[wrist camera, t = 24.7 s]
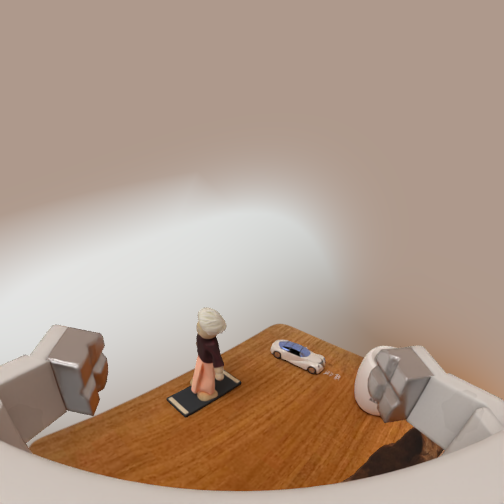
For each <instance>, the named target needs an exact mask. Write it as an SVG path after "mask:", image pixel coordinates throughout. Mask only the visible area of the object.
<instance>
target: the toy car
mask: <svg viewBox="0 0 504 504" xmlns="http://www.w3.org/2000/svg"><path fill="white" fill-rule="evenodd" d="M271 353H272V354H274V356H275V357H276V358H280V357H281V359H284V360H287V361H289V362H290V363H292V364H294V365H297V366H299V367H301V368H303V369H305V370H307V368H308V372H309V373H311V374H314V373H316V374H318V373H320V372H321V371H322V370H323V366H324V367H325V363H326V362H325V361H324V360H325V358H324V357H323V356H322V355H319V354H315V353H313V352H311V351H310V350H308V349H307V347H304V346H302V345H299V344H297V343H294V342H290V341H287V340H277V341H275V342H274V343H273V344H272V347H271ZM323 362H324V365H323ZM321 364H322V365H323V366H322V365H321ZM327 373H328V372H327ZM324 374H325V373H324ZM327 375H328V374H327ZM330 375H331V374H330ZM330 375H329V376H330ZM337 376H338V374H337ZM337 376H336V377H337ZM336 377H335V378H336Z"/></svg>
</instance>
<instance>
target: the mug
mask: <svg viewBox="0 0 504 504" xmlns="http://www.w3.org/2000/svg"><path fill="white" fill-rule="evenodd" d="M391 348H395V347H390V346H379V347H376V348H374V349H372V350H371V351H370V352H368V353H367V355H366V356H365V358H364V359H363V361H362V363H361V365H360V367H359V370H358V373H357V376H356V380H355V389H354V393H355V399H356V401H357V403H358V405H359V406H360V407H361V409H363V410H364V411H365V412H367V413H369V414H372V415H377V416H380V414H379V412H378V410H377V405H378V402H376V401H375V400H373V399H372V398H371V396H370V394H369V392H368V387H367V385H368V377H369V374H370V372H371V370H372V369H373V368H374V367H376V366H377V362H376V357H377V355H378V353H379V352H380V351H381V349H391Z"/></svg>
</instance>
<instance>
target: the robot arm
mask: <svg viewBox="0 0 504 504" xmlns="http://www.w3.org/2000/svg"><path fill="white" fill-rule="evenodd" d="M104 346H105V345H104V340H103V336H102V335H101V334H100V333H96V332H91V331H86V330H81V329H76V328H71V327H70V328H69V327H66V326H61V325H53V326H52V327H51V328H50V329H49V331H48V332H47V333H46V334H45V336H44V337H43V338H42V340H41V341H40V342H39V344H38V345H37V346H36V348H35V349H34V350H33V352H32V353H31V354H30V356H28V355H23V356H21V357H19V358H17V359H14V360H12V361H10V362H7V363H5V364H3V365H1V366H0V504H504V401H503V400H502V399H501V398H499V397H497V396H495V395H492V394H490V393H488V392H486V391H484V390H482V389H480V388H478V387H476V386H474V385H472V384H470V383H468V382H466V381H464V380H462V379H460V378H458V377H456V376H454V375H452V374H450V373H449V374H446V373H445V371H444V370H443V369H442V368H441V367H440V365H439V364H438V363H437V362H436V361H435V360H434V358H433V357H432V356H431V355H430V354H429V353H428V351H427V350H426V349H425V348H424V347H422V346H410V347H405V348H391V349H381V351H380V352H379V353H378V355H377V357H376V362H377V366H376V367H374V368H373V369H372V370H371V372H370V374H369V377H368V385H367V387H368V392H369V394H370V396H371V398H372V399H373V400H375V401H376V402H378V405H377V410H378V412H379V414H380V416H381V417H382V419H383V421H384V423H387V422H393V421H399V420H405V419H407V420H406V421H407V422H409V423H410V424H411V425H413V426H414V427H415V428H416V429H418V430H419V431H420V432H422V433H423V434H424V435H425V436H427V437H428V438H429V439H431V440H432V441H433V442H434V443H436V444H437V445H438V446H440V447H441V448H442V449H444V450H445V452H444V453H443V454H442V455H441V456H440V457H438V458H435V459H432V460H430V461H427V462H423V463H420V464H417V465H414V466H411V467H407V468H404V469H400V470H397V471H393V472H389V473H385V474H381V475H377V476H372V477H368V478H363V479H358V480H353V481H348V482H342V483H336V484H330V485H323V486H315V487H307V488H297V489H285V490H269V491H210V490H194V489H182V488H172V487H164V486H157V485H150V484H143V483H137V482H132V481H126V480H121V479H117V478H112V477H107V476H103V475H99V474H95V473H91V472H87V471H84V470H80V469H76V468H73V467H70V466H66V465H63V464H60V463H57V462H54V461H51V460H48V459H45V458H43V457H40V456H37V455H34V454H32V453H31V451H30V450H29V448H28V446H27V445H26V443H27V442H28V441H29V440H30V439H32V438H33V437H34V436H36V435H37V434H38V433H39V432H41V431H42V430H43V429H45V428H46V427H47V426H49V425H50V424H51V423H52V422H54V421H55V420H57V419H58V418H59V417H60V416H62V415H63V414H64V413H66V412H67V411H66V410H68V411H72V412H77V413H82V414H87V415H91V416H94V413H95V411H96V408H97V406H98V403H99V400H100V398H99V394H98V392H99V391H101V390H103V389H104V387H105V385H106V382H107V375H108V363H107V358H106V357H105V356H104V354H103V353H102V350H103V348H104Z"/></svg>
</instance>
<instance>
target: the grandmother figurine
mask: <svg viewBox="0 0 504 504" xmlns="http://www.w3.org/2000/svg"><path fill="white" fill-rule="evenodd" d="M198 320H199V321H198V323H197V332H198V334H197V342H196V345H197V348H198V349H197V352H198V357H197V362H196V367H195V371H194V376H193V378H192V379H191V382H190V384H191V386H192V387H191V390H192V392H193V393H195V394H196V393H197V397H198V398H199V399H200V400H201V401H209V400H211V399H213V398H216V397H217V396H218V393H217V391H216V390H215V378H216V380H218V381H221V380H223V379H224V374H223V366H224V363H223V360H222V357H221V355H220V350H219V345H218V341H217V338H216V335H217V334H219V333H222V332H223V331H224V330H225V329H226V323H225V320H224V319H223V318H222V316H221V315H220V314H219V313H218V312H217V311H215V310H213V309H211V308H203V309H201V310H200V311H199V312H198ZM215 373H216V374H215Z"/></svg>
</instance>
